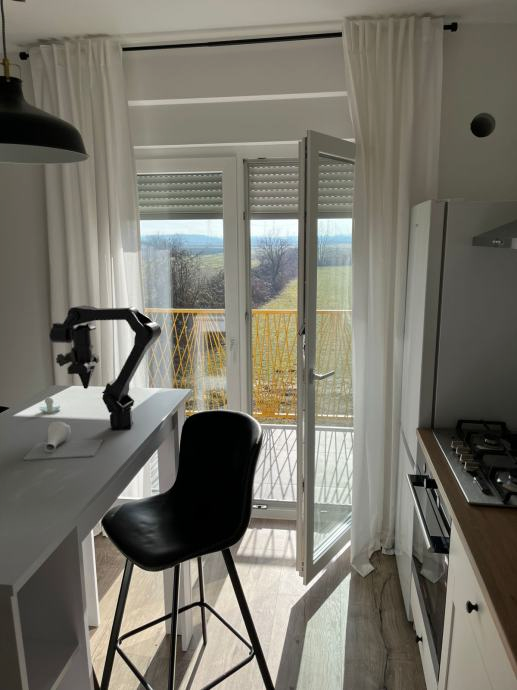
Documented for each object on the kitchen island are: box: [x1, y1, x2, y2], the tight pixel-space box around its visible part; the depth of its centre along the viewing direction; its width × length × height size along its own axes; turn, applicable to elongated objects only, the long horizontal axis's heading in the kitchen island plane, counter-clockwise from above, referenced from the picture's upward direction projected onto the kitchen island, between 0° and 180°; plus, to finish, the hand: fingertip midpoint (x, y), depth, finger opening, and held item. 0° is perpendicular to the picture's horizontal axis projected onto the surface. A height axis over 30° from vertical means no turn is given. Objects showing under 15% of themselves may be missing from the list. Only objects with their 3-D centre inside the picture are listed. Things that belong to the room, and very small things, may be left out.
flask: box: [45, 421, 72, 452], centre depth 163 cm, size 7×7×10 cm
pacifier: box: [39, 396, 62, 414], centre depth 199 cm, size 7×6×6 cm
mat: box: [23, 439, 104, 461], centre depth 161 cm, size 20×13×1 cm, turn 95°
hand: (86, 388), depth 182 cm, fingers closed
